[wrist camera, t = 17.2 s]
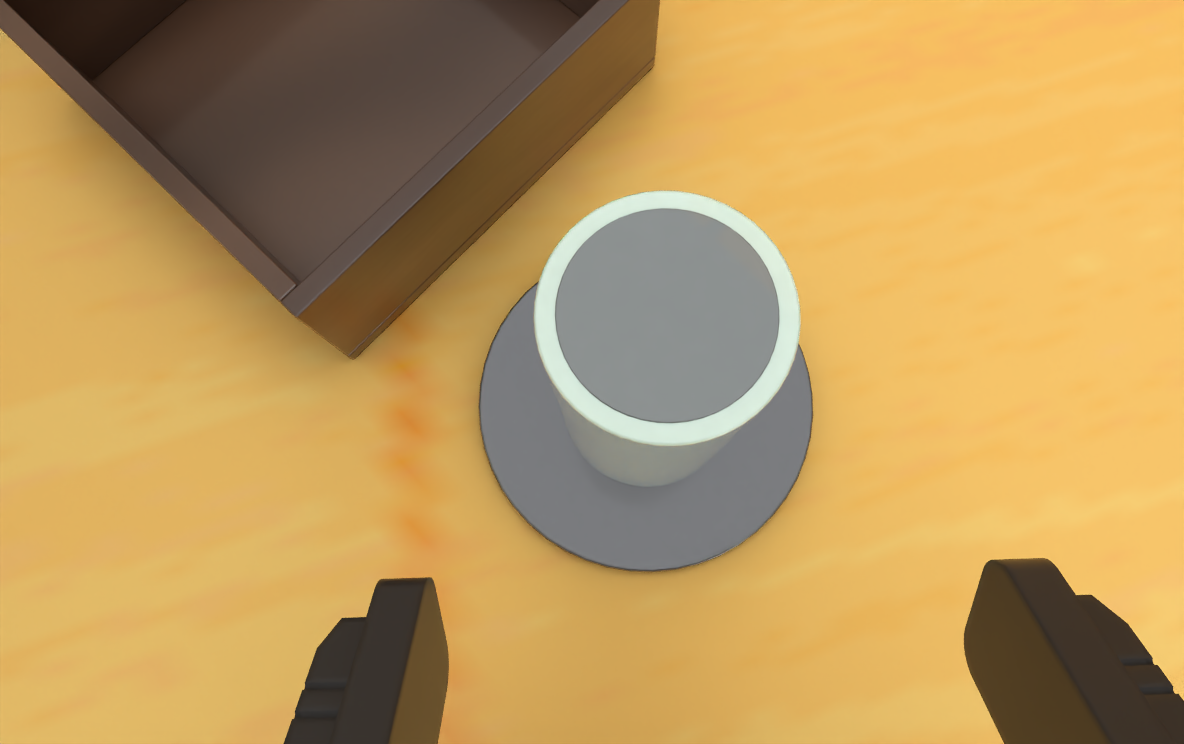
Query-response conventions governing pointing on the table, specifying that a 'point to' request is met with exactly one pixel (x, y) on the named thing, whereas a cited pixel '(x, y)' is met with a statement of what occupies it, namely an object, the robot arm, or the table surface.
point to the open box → (342, 123)
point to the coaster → (620, 511)
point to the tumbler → (664, 332)
